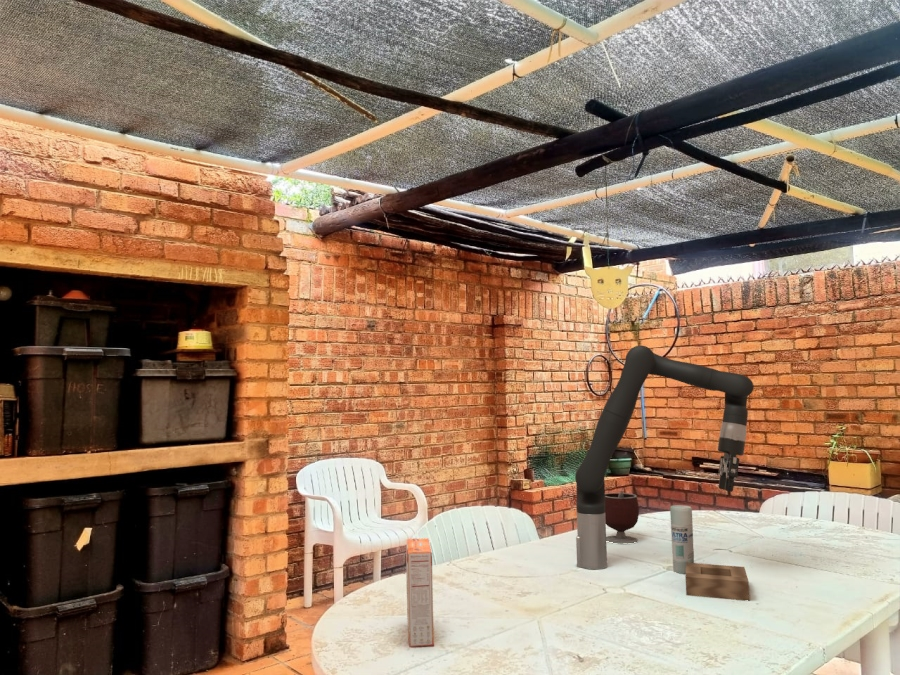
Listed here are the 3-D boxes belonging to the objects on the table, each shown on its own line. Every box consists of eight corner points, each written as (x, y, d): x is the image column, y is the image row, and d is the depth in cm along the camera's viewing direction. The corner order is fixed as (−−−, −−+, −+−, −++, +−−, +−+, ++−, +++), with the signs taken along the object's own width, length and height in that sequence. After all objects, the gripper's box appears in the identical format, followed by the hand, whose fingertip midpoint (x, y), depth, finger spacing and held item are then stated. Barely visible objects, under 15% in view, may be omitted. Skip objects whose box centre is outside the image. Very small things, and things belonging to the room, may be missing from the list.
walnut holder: (686, 595, 177) (685, 576, 178) (686, 579, 192) (686, 562, 193) (749, 600, 172) (748, 581, 172) (745, 584, 187) (744, 566, 187)
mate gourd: (600, 536, 253) (599, 485, 255) (637, 537, 251) (635, 485, 253) (604, 545, 238) (602, 490, 240) (643, 546, 236) (641, 491, 238)
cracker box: (406, 625, 156) (405, 538, 158) (430, 624, 157) (430, 537, 159) (407, 648, 142) (406, 551, 144) (434, 646, 143) (433, 550, 145)
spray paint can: (669, 572, 201) (666, 507, 203) (678, 567, 206) (675, 504, 208) (689, 575, 196) (686, 509, 198) (698, 571, 201) (695, 506, 203)
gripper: (714, 436, 209) (707, 486, 207) (725, 435, 195) (717, 489, 193) (739, 441, 207) (732, 491, 205) (751, 440, 194) (744, 494, 191)
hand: (725, 490), depth 199 cm, fingers open, 8 cm apart
